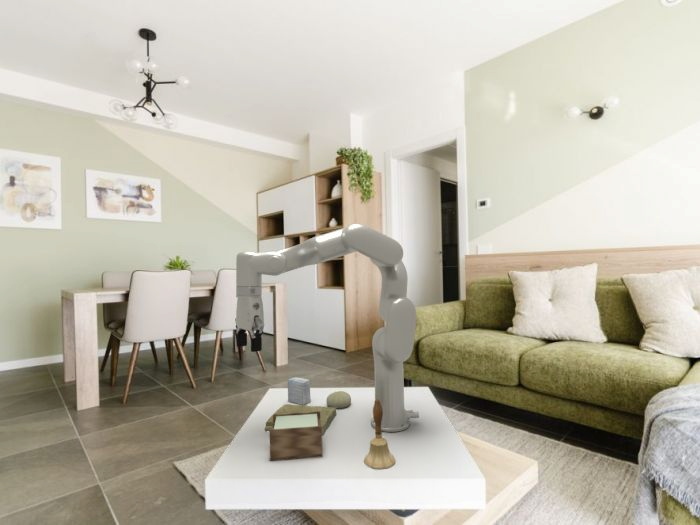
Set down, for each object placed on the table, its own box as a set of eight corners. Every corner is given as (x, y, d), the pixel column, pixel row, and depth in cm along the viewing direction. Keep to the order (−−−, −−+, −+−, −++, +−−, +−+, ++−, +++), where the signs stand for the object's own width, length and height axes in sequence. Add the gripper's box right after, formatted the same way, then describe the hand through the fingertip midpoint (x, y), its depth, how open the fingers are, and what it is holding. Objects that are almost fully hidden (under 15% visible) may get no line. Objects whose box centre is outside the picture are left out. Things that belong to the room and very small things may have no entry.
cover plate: (317, 419, 110) (316, 413, 110) (318, 433, 101) (317, 426, 101) (276, 422, 108) (276, 416, 108) (273, 436, 99) (273, 430, 99)
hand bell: (362, 468, 94) (361, 405, 94) (365, 452, 102) (364, 394, 102) (395, 470, 92) (393, 406, 93) (395, 453, 101) (394, 395, 101)
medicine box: (310, 401, 142) (310, 379, 142) (303, 405, 138) (303, 382, 138) (295, 398, 146) (294, 376, 146) (287, 402, 142) (287, 379, 142)
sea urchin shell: (321, 398, 140) (334, 381, 142) (334, 410, 142) (348, 394, 144) (329, 406, 132) (343, 388, 134) (343, 419, 134) (357, 401, 136)
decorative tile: (283, 412, 134) (283, 402, 134) (336, 415, 129) (336, 405, 130) (260, 434, 115) (260, 423, 115) (322, 439, 111) (321, 427, 111)
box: (320, 438, 111) (320, 411, 111) (322, 456, 100) (321, 426, 100) (273, 442, 109) (273, 414, 109) (270, 461, 98) (269, 430, 98)
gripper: (274, 293, 108) (274, 351, 107) (247, 290, 121) (247, 342, 120) (250, 294, 103) (250, 355, 102) (225, 291, 116) (225, 346, 115)
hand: (248, 348), depth 111 cm, fingers open, 9 cm apart
